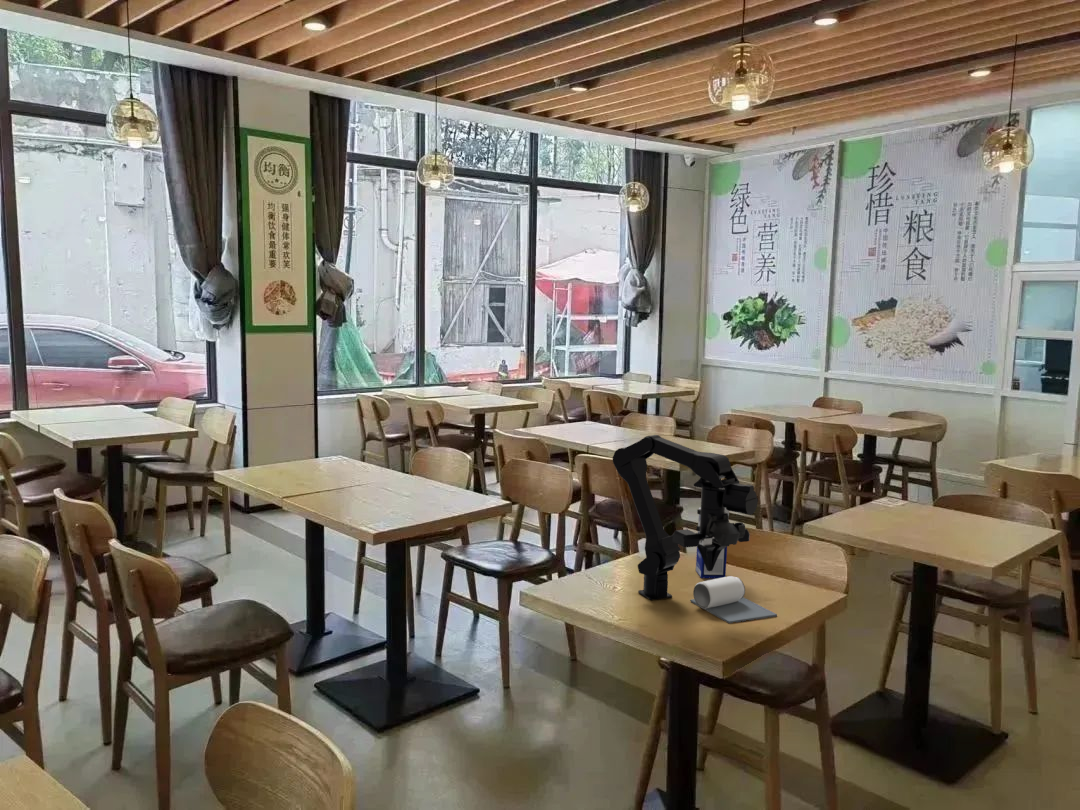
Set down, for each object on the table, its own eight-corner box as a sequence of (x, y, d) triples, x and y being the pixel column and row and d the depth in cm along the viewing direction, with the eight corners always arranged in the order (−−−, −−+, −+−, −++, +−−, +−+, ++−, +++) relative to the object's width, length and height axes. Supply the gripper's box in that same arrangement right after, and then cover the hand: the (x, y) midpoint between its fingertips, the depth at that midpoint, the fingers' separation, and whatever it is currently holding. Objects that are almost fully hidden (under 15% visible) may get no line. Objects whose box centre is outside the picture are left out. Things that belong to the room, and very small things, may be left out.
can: (688, 592, 215) (723, 585, 221) (702, 614, 211) (737, 606, 217) (700, 576, 211) (736, 569, 217) (714, 598, 207) (750, 590, 213)
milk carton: (725, 578, 237) (729, 506, 234) (701, 578, 236) (704, 506, 234) (719, 570, 244) (723, 501, 241) (695, 570, 243) (699, 500, 241)
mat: (690, 601, 217) (690, 599, 217) (736, 595, 223) (736, 593, 223) (729, 623, 203) (729, 621, 203) (776, 616, 208) (777, 614, 208)
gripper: (699, 517, 197) (695, 584, 199) (765, 512, 204) (762, 576, 206) (672, 507, 207) (669, 570, 209) (737, 502, 215) (733, 563, 216)
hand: (709, 570), depth 210 cm, fingers closed
